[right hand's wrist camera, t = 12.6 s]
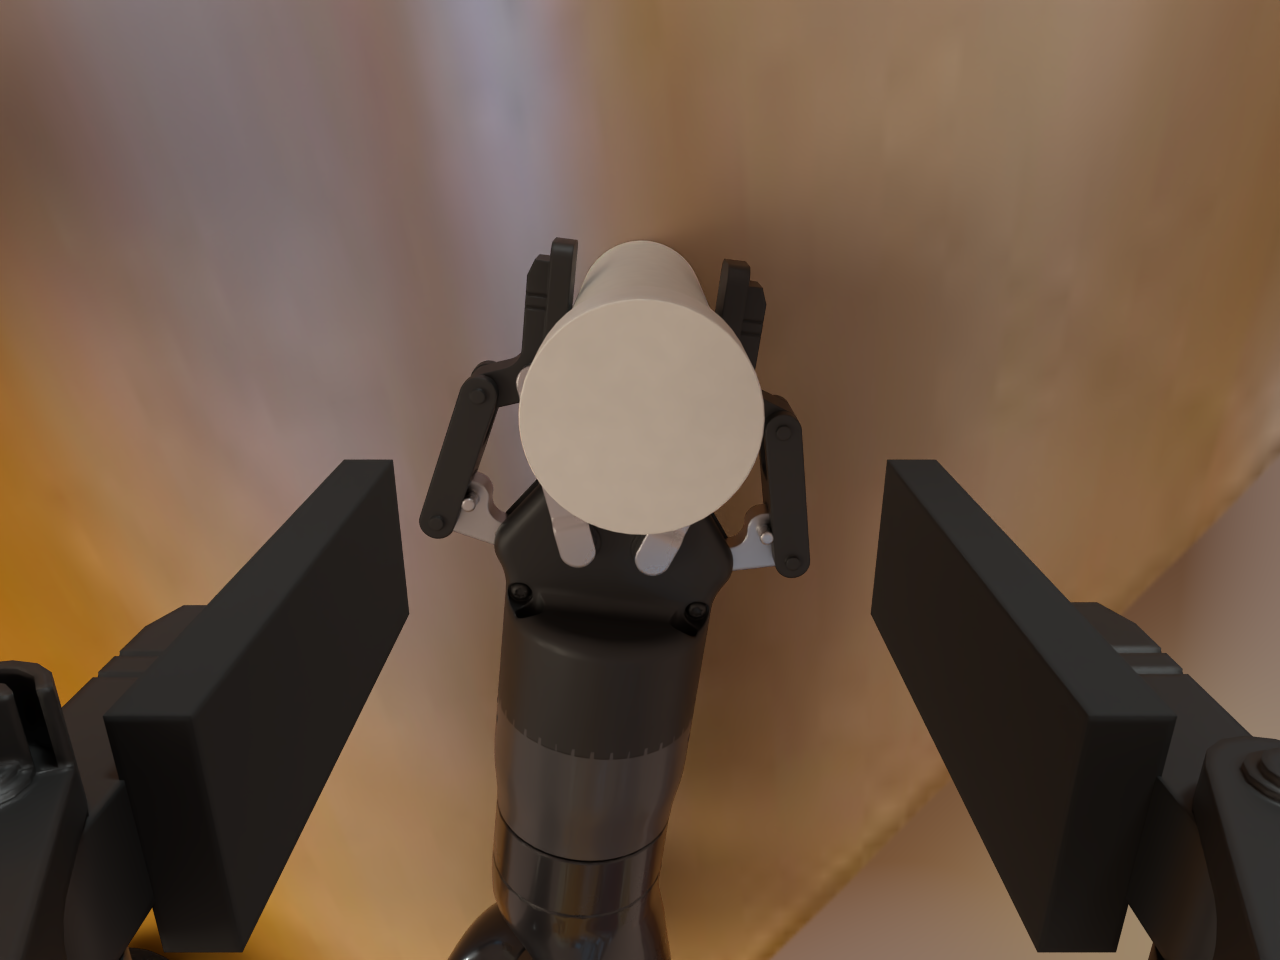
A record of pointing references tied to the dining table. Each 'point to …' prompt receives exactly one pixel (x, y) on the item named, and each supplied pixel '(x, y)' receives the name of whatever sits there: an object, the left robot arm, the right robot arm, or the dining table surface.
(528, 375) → the white cylinder with groove
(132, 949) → the tape measure
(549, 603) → the left robot arm
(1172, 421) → the dining table surface
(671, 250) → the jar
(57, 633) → the dining table surface
